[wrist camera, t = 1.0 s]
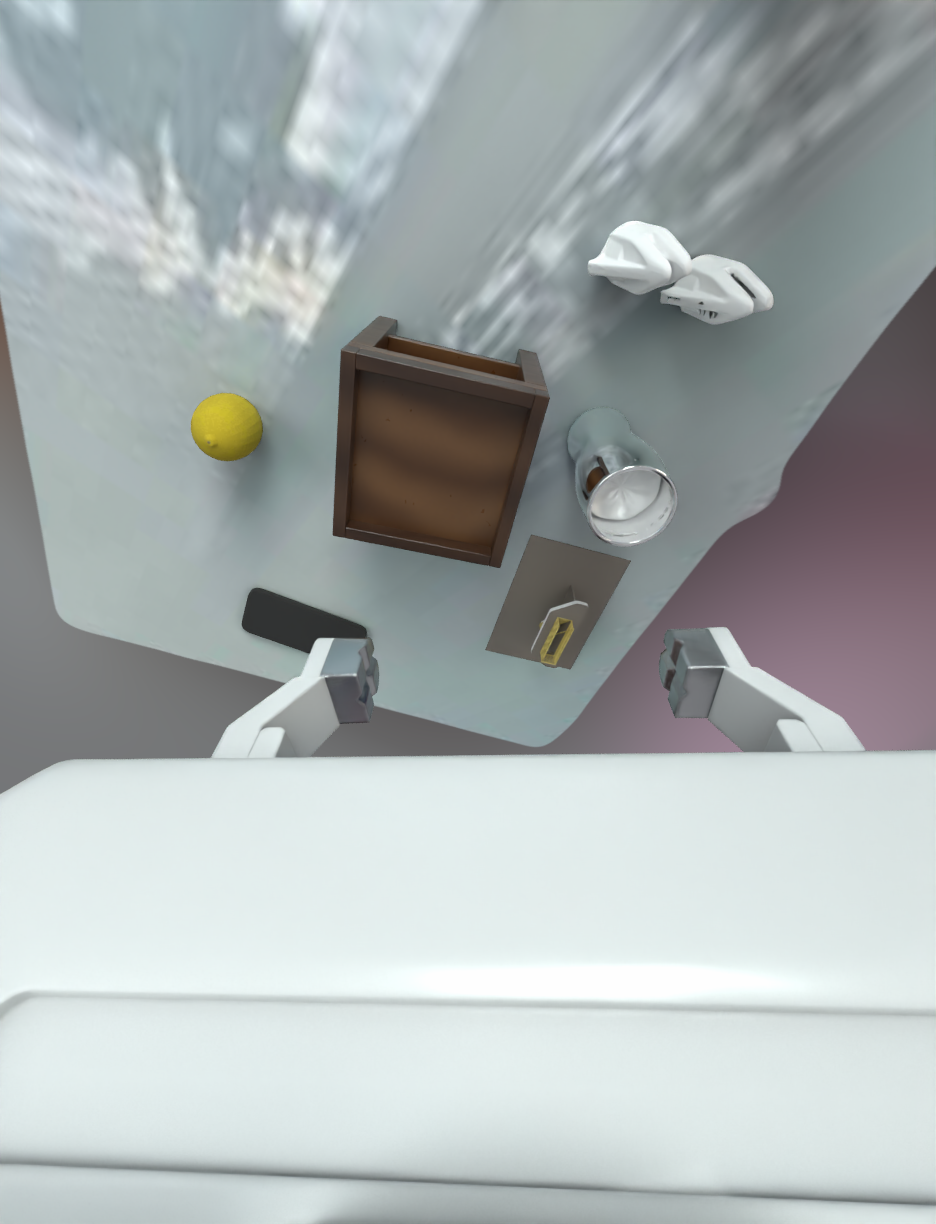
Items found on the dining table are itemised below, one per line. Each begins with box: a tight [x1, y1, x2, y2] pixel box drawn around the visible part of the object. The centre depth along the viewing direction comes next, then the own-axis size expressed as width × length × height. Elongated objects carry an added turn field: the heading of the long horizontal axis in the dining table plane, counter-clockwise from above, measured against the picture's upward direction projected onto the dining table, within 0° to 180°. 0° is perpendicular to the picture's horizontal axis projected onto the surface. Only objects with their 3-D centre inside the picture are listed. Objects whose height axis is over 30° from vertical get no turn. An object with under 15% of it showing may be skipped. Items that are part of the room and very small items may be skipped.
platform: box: [486, 535, 631, 669], centre depth 60 cm, size 12×18×7 cm, turn 165°
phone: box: [242, 588, 367, 654], centre depth 65 cm, size 7×1×15 cm
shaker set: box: [588, 221, 774, 325], centre depth 36 cm, size 12×4×11 cm, turn 72°
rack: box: [333, 316, 550, 568], centre depth 43 cm, size 14×14×14 cm
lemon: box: [191, 393, 263, 461], centre depth 46 cm, size 6×6×8 cm
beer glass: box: [567, 407, 677, 546], centre depth 43 cm, size 7×7×15 cm
